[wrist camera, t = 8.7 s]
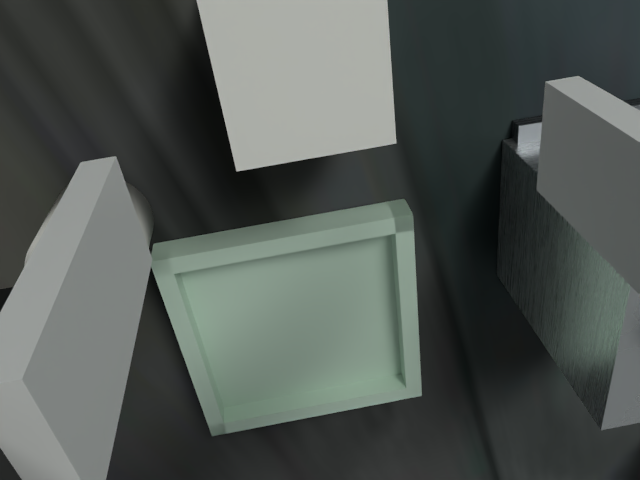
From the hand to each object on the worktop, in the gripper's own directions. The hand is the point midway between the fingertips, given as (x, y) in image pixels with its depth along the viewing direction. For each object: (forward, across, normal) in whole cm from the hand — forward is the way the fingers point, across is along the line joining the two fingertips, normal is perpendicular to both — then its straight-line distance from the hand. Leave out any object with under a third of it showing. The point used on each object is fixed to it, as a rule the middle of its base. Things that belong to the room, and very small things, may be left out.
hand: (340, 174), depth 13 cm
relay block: (+16, 0, 0) cm, 16 cm away
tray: (+16, -2, -17) cm, 23 cm away
